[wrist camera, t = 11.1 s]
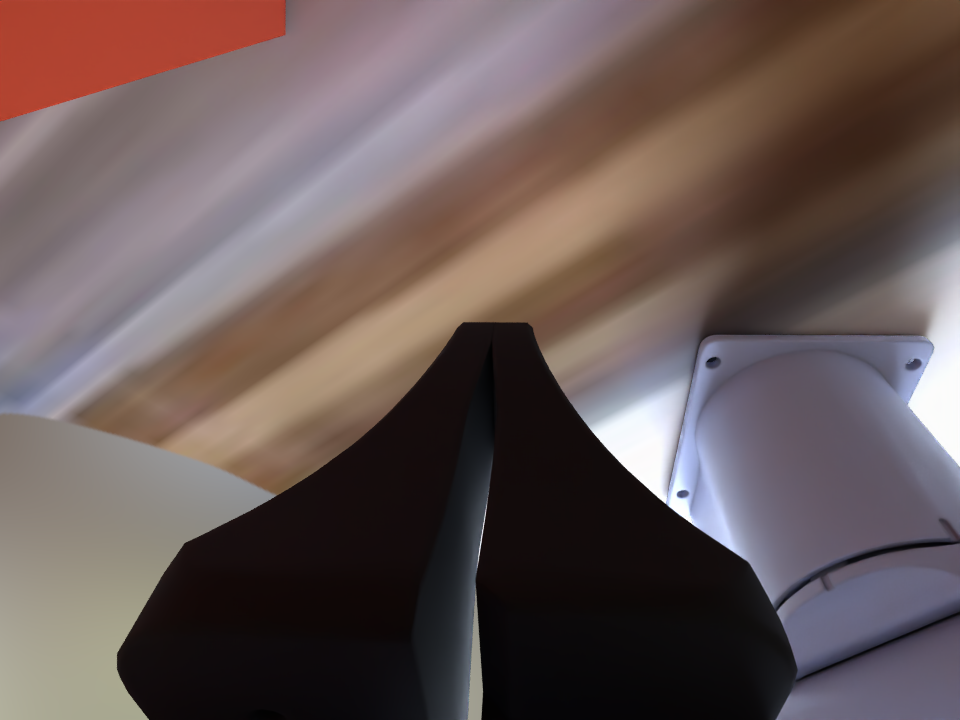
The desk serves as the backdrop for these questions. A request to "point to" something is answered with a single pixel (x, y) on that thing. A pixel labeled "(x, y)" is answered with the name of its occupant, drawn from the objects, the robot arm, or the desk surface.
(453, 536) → the robot arm
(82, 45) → the file binder
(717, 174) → the desk surface
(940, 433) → the desk surface
